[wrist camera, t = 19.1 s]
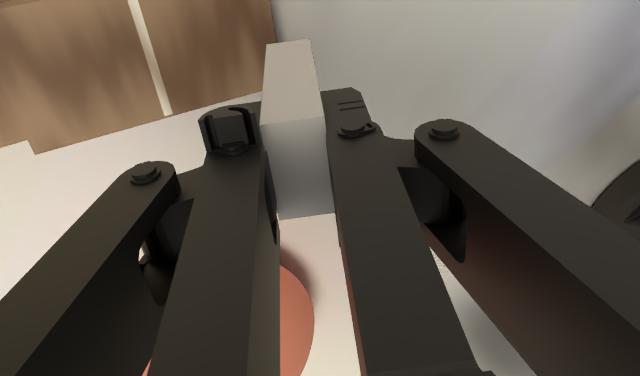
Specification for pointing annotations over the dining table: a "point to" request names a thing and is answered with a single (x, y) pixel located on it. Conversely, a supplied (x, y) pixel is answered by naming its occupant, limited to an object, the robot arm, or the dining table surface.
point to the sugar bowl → (292, 325)
